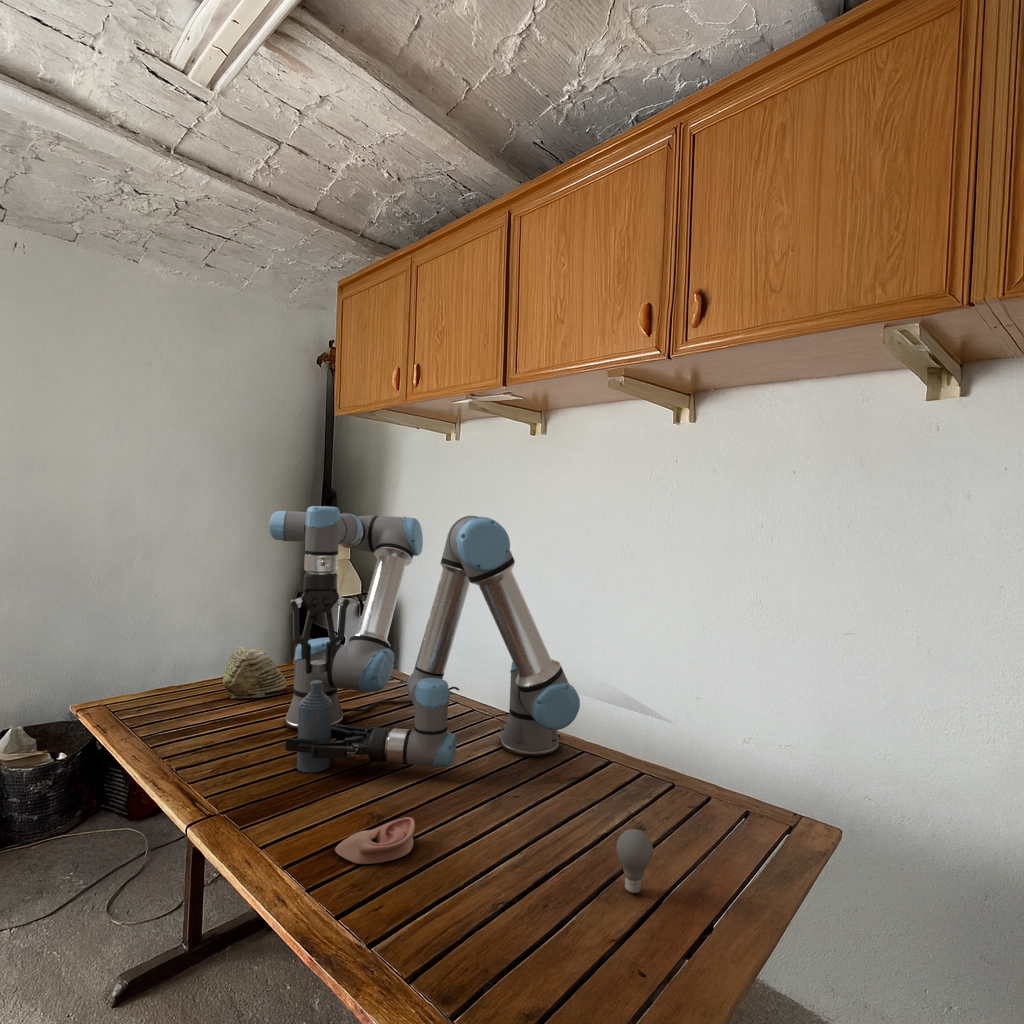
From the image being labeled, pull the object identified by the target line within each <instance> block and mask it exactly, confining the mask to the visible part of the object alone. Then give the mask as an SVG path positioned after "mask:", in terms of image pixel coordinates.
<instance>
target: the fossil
mask: <svg viewBox="0 0 1024 1024" xmlns="http://www.w3.org/2000/svg"><path fill="white" fill-rule="evenodd" d="M222 676H223V677H222V685H223V687H224V688H225V690H226V691H228V693H229V698H230V699H250V698H264V697H271V696H275V695H281V694H284V693H285V691H286V689H287V687H288V686H287V680H286V678H285V676H284V674H283V673H282V672H281V669H279V668H278V667H277V665H276V663H275V662H274V660H273V659H272V658H271V657H270V656H269V655H268V654H267V653H266V652H265V650H264V649H263V648H260V647H258V648H251V647H247V646H246V647H245V646H238V647H237V648H236V649H235V650H233V651H232V653H231V656H230V657H229V659H228V660H227V663H226V666H225V668H224V671H223V675H222Z"/></svg>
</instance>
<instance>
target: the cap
mask: <svg viewBox="0 0 1024 1024" xmlns="http://www.w3.org/2000/svg"><path fill="white" fill-rule="evenodd" d="M326 670H327V662H326V661H323V660H315V661H311V662H310V673H324V672H326Z"/></svg>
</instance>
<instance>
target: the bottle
mask: <svg viewBox="0 0 1024 1024" xmlns="http://www.w3.org/2000/svg"><path fill="white" fill-rule="evenodd" d="M310 685H311V686H310V692H309V693H308V694H307V695H306V697H304V698H303V699H302V700H301V701H300V703H299V715H298V731H297V739H309V740H313V739H315V742H324V741H332V740H331V728H332V701H331V699H330V698H329V697H328V696H327V695H326V694H324V692H322V685H323V681H321V680H314V681H311V683H310ZM330 766H331V759H330V758H312V753H307V752H296V769H297V770H298V771H300V772H301V773H302V772H303V773H309V774H311V773H319V772H322V771H323V772H324V771H325V770H327V769H328V768H329V767H330Z"/></svg>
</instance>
